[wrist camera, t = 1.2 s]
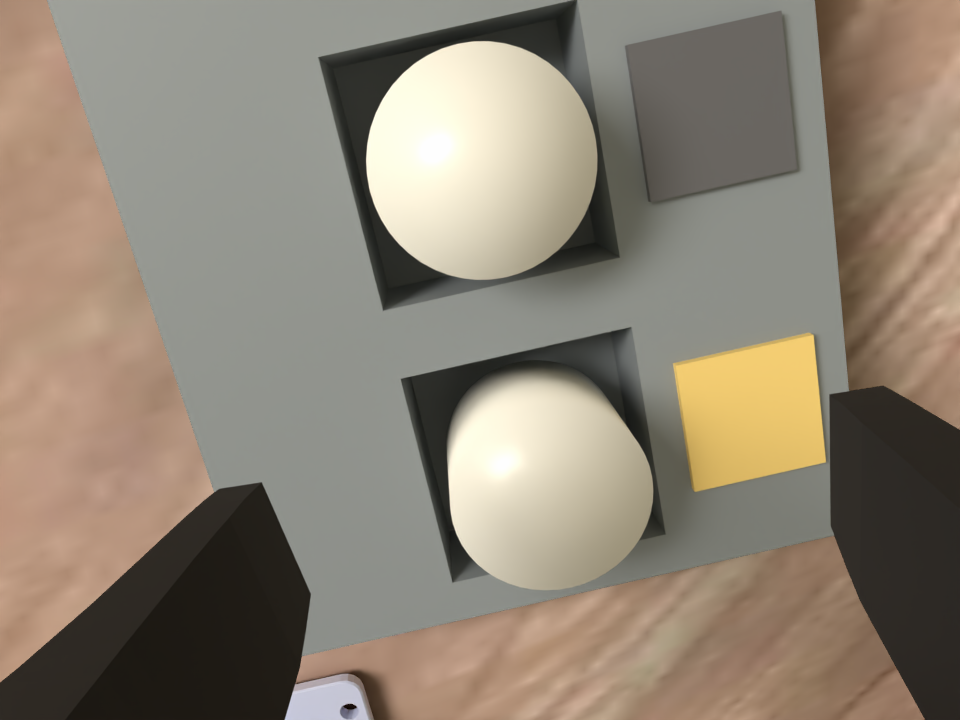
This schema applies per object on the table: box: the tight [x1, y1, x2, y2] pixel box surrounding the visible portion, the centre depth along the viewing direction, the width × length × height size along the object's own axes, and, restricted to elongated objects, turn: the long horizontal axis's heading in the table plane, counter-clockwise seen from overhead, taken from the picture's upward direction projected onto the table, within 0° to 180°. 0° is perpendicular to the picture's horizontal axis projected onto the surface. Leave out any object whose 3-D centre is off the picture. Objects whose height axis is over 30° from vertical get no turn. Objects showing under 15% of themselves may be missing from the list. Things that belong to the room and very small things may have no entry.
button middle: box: [366, 41, 597, 280], centre depth 15 cm, size 4×4×3 cm
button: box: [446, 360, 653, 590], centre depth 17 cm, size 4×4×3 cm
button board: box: [47, 0, 849, 656], centre depth 17 cm, size 20×14×4 cm
